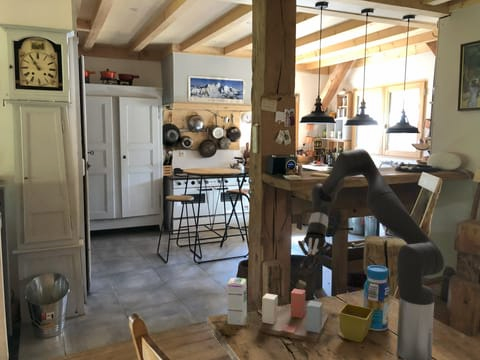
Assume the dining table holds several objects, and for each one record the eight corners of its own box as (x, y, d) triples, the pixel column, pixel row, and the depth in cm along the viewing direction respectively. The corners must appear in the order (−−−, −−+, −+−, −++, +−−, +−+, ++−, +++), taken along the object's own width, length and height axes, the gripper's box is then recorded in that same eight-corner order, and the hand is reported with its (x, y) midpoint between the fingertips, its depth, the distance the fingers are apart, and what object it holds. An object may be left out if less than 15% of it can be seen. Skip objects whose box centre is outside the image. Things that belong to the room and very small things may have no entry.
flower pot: (372, 335, 133) (373, 308, 132) (366, 347, 125) (367, 319, 124) (345, 329, 137) (346, 302, 136) (337, 340, 130) (338, 312, 129)
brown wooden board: (328, 318, 144) (328, 313, 144) (316, 343, 128) (316, 337, 128) (276, 309, 152) (276, 304, 151) (258, 331, 135) (259, 325, 135)
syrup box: (243, 325, 139) (244, 284, 137) (226, 324, 140) (226, 282, 139) (247, 318, 145) (247, 278, 143) (230, 316, 146) (230, 276, 144)
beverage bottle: (357, 321, 142) (359, 265, 140) (378, 318, 144) (381, 263, 142) (371, 333, 134) (373, 273, 132) (393, 330, 136) (396, 271, 134)
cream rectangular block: (277, 319, 140) (277, 295, 139) (273, 324, 136) (273, 299, 135) (266, 317, 141) (266, 293, 140) (262, 322, 138) (262, 297, 137)
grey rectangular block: (321, 327, 134) (322, 302, 133) (319, 333, 130) (319, 307, 129) (309, 325, 136) (310, 300, 135) (306, 330, 132) (307, 305, 131)
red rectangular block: (305, 313, 144) (305, 290, 143) (302, 318, 141) (302, 294, 140) (293, 311, 146) (294, 288, 145) (290, 316, 142) (291, 292, 141)
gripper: (300, 219, 166) (290, 258, 156) (333, 222, 161) (326, 262, 151) (303, 230, 171) (294, 267, 161) (335, 233, 166) (328, 272, 156)
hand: (309, 265), depth 156 cm, fingers closed
